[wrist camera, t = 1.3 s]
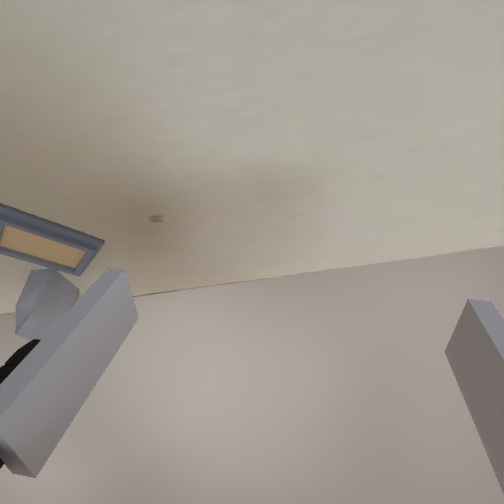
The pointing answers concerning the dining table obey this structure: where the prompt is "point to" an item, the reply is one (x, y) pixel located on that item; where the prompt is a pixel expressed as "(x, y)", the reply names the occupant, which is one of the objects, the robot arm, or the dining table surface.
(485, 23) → the dining table surface
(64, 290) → the tea bag
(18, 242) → the grey flat frame
